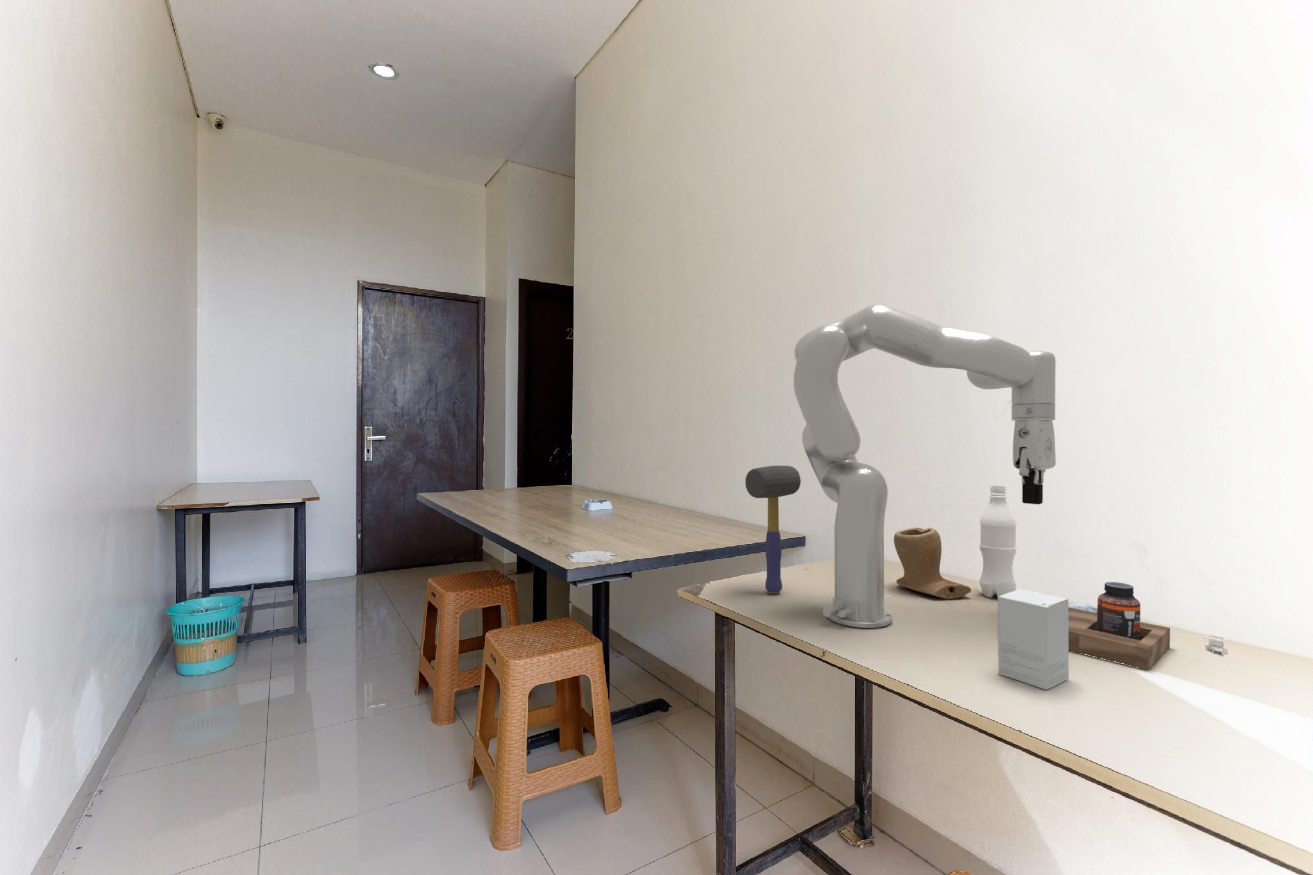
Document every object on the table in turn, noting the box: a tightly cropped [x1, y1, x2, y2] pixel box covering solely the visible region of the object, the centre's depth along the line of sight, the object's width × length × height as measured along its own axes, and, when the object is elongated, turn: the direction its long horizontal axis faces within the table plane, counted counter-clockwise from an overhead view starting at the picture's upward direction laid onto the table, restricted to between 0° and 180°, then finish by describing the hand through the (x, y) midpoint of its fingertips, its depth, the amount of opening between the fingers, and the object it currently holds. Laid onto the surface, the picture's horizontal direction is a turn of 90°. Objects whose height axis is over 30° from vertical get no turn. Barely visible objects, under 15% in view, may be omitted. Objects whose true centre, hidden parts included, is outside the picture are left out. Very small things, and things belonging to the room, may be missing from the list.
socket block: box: [1068, 606, 1171, 671], centre depth 109 cm, size 15×22×4 cm
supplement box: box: [997, 588, 1070, 691], centre depth 94 cm, size 7×7×13 cm
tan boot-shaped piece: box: [893, 527, 972, 600], centre depth 139 cm, size 15×12×15 cm
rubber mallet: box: [744, 465, 802, 595], centre depth 140 cm, size 12×8×30 cm, turn 125°
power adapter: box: [1202, 634, 1228, 657], centre depth 103 cm, size 3×3×3 cm
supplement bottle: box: [1096, 581, 1141, 640], centre depth 104 cm, size 6×6×11 cm
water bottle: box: [979, 485, 1017, 598], centre depth 136 cm, size 7×7×25 cm
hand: (1032, 503), depth 122 cm, fingers closed
